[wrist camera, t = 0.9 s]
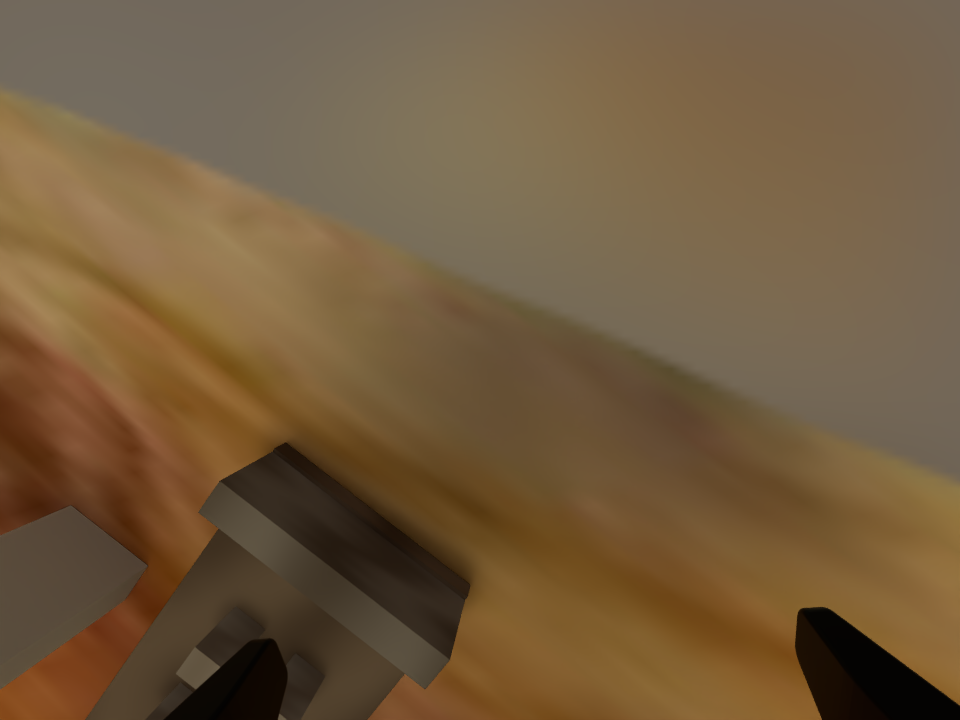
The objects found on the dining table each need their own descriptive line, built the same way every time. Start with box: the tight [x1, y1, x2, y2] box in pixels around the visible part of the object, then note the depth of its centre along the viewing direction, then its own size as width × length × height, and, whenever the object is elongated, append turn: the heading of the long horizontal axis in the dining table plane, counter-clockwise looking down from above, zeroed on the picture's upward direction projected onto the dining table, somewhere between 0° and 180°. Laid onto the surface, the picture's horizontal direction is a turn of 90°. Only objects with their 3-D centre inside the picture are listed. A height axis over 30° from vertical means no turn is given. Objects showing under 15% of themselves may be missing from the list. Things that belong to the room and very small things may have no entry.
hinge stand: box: [85, 443, 470, 720], centre depth 24 cm, size 11×22×5 cm, turn 143°
